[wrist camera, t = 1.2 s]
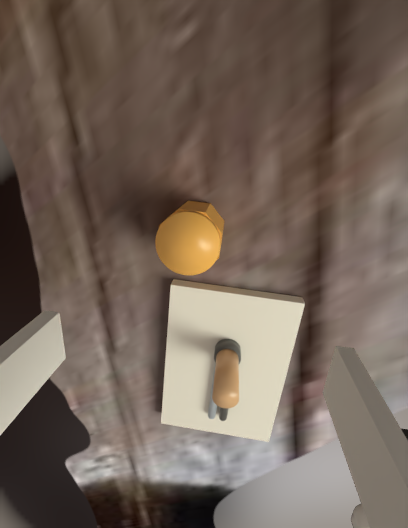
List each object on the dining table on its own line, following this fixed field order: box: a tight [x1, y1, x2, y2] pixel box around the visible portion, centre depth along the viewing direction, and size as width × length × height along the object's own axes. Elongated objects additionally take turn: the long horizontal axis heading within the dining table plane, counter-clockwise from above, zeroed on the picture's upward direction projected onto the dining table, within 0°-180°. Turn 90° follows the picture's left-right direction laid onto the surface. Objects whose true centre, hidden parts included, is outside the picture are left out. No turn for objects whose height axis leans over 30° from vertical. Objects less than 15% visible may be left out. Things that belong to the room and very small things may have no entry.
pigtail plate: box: [161, 279, 305, 442], centre depth 31 cm, size 20×14×8 cm
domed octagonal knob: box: [155, 201, 224, 275], centre depth 26 cm, size 5×5×6 cm
